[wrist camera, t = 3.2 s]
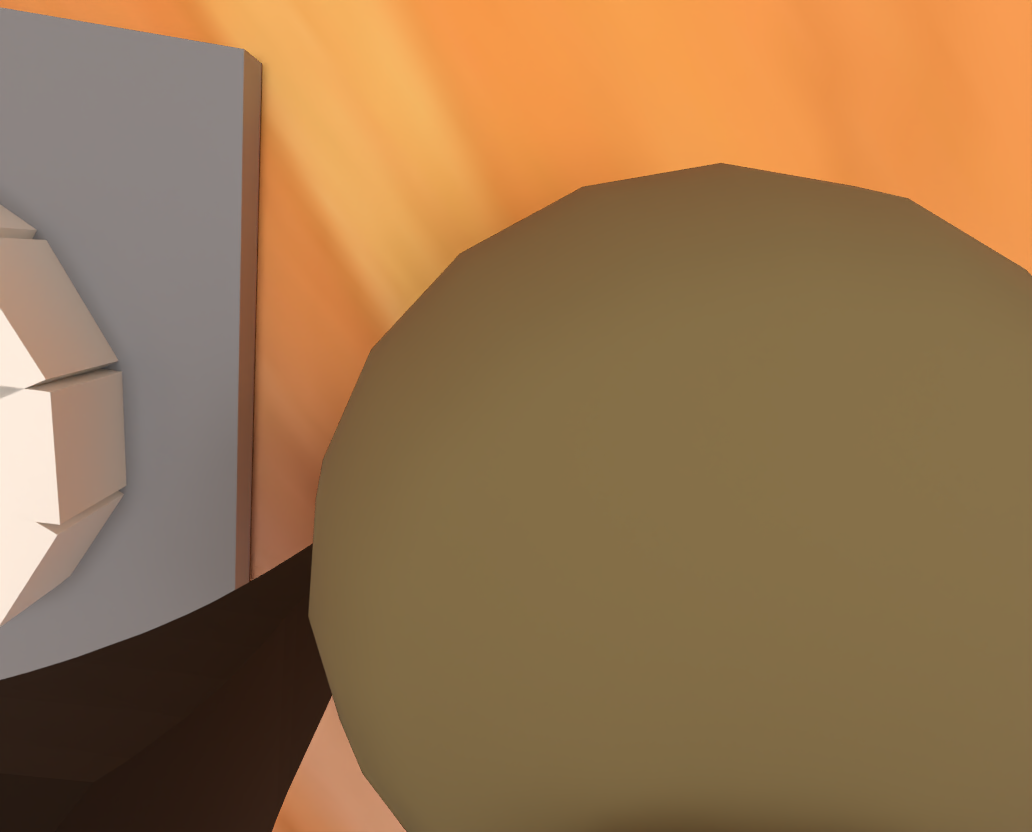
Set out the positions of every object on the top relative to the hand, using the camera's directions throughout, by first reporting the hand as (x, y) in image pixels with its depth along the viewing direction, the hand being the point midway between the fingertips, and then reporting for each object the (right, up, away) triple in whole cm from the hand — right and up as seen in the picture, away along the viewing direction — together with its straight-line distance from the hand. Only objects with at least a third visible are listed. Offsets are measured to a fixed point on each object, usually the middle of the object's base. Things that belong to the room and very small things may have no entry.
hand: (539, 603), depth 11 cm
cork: (+1, +5, +2) cm, 6 cm away
